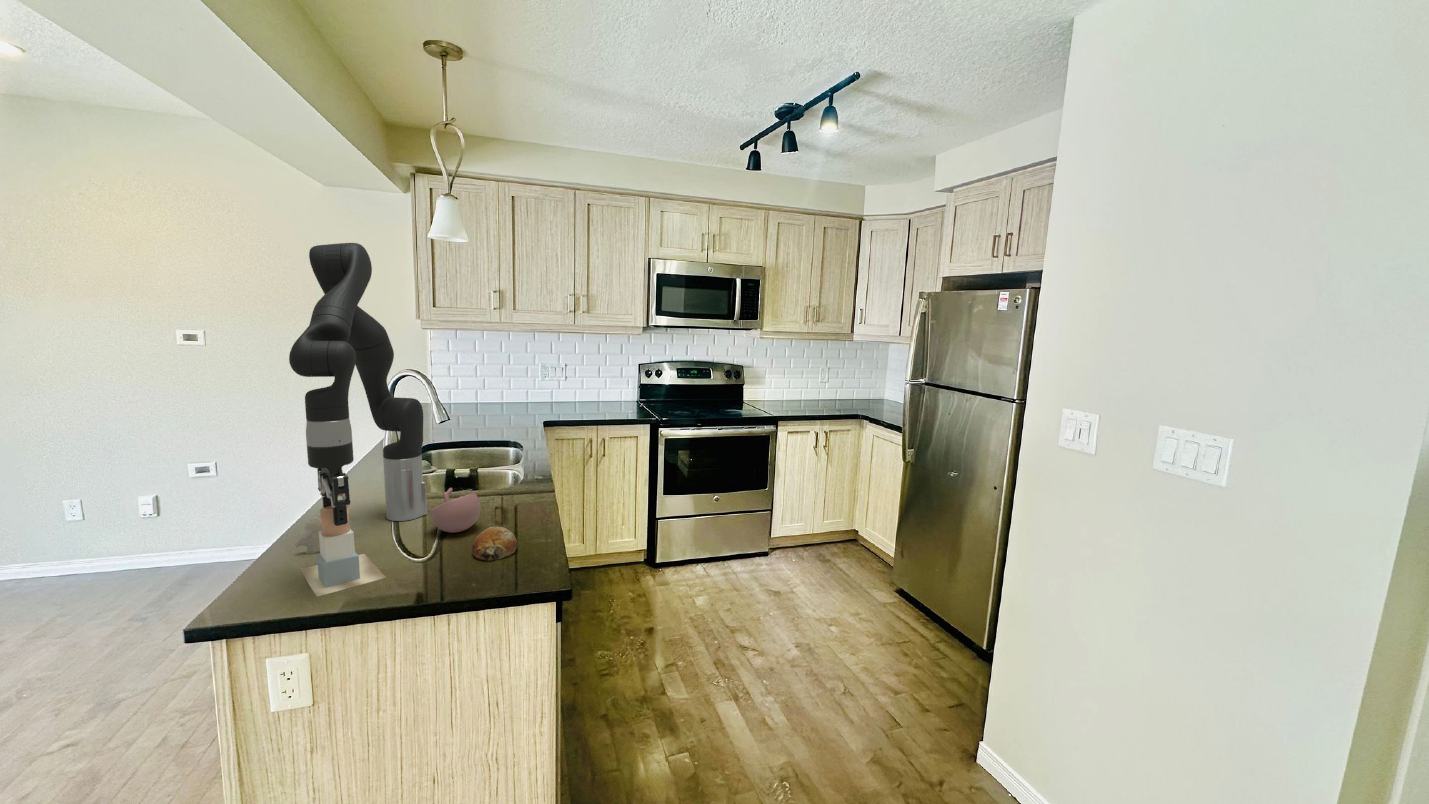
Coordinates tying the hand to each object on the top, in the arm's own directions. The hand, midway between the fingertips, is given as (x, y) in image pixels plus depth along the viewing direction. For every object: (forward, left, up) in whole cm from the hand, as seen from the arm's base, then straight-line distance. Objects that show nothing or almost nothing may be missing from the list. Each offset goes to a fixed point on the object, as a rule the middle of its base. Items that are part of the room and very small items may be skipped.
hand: (335, 518), depth 113 cm
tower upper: (0, 0, -8) cm, 8 cm away
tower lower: (0, 0, -13) cm, 13 cm away
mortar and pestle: (-29, -14, -15) cm, 35 cm away
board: (-1, -2, -14) cm, 14 cm away
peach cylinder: (0, 0, -3) cm, 3 cm away
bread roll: (-30, +5, -15) cm, 34 cm away
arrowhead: (0, -18, -14) cm, 23 cm away
